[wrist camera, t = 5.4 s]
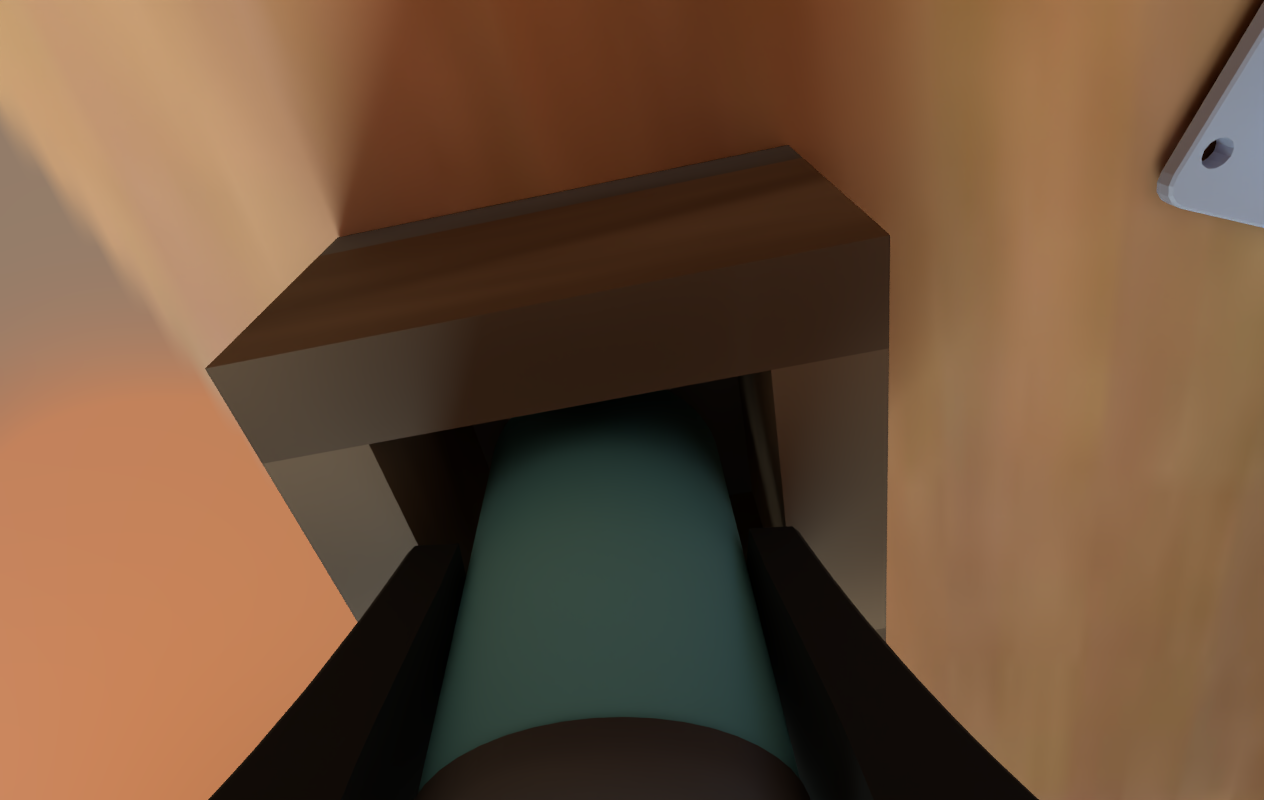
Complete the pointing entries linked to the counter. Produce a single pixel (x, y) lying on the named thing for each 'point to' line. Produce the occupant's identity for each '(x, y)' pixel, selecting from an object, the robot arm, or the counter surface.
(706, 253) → the socket
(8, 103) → the counter surface
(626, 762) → the peg
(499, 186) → the counter surface
